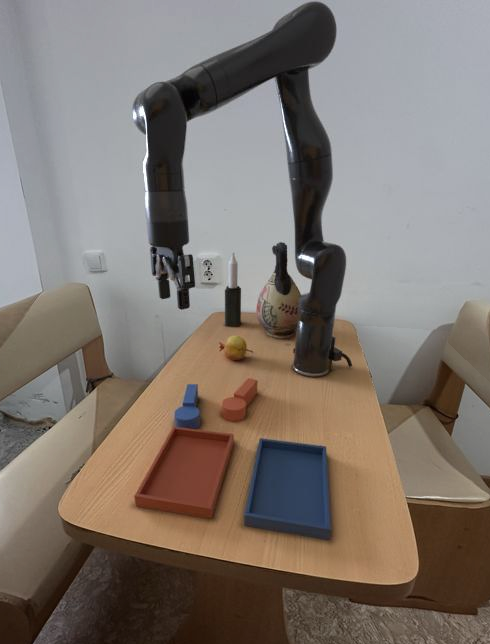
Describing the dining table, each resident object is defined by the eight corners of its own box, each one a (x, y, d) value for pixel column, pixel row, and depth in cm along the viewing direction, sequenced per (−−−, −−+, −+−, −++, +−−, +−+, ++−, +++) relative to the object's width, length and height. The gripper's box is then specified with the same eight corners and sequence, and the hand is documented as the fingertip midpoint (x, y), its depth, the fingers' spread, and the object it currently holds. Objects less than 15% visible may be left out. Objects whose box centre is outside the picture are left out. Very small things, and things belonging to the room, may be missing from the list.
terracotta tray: (173, 435, 74) (173, 426, 74) (233, 442, 72) (233, 434, 71) (135, 506, 58) (134, 495, 57) (211, 519, 56) (211, 508, 55)
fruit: (256, 336, 106) (222, 332, 109) (251, 339, 100) (215, 335, 102) (253, 359, 108) (220, 355, 110) (248, 364, 101) (213, 359, 104)
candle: (238, 327, 129) (239, 254, 119) (224, 326, 130) (223, 253, 120) (241, 322, 134) (242, 251, 123) (227, 321, 135) (227, 250, 124)
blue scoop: (182, 397, 87) (181, 383, 86) (204, 397, 87) (203, 384, 86) (173, 431, 76) (172, 416, 74) (198, 431, 75) (198, 416, 74)
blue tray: (259, 446, 71) (259, 437, 70) (325, 455, 69) (326, 446, 68) (244, 525, 55) (244, 515, 54) (329, 540, 53) (331, 529, 52)
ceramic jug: (254, 325, 131) (257, 237, 119) (298, 325, 131) (305, 237, 118) (256, 344, 116) (259, 245, 103) (306, 345, 115) (315, 245, 103)
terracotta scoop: (242, 389, 91) (242, 376, 89) (262, 394, 88) (263, 381, 87) (217, 417, 80) (217, 403, 78) (239, 423, 78) (239, 409, 76)
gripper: (204, 219, 64) (208, 308, 71) (169, 214, 75) (175, 292, 82) (164, 222, 60) (172, 316, 67) (133, 216, 71) (142, 298, 78)
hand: (174, 303), depth 75 cm, fingers open, 8 cm apart
